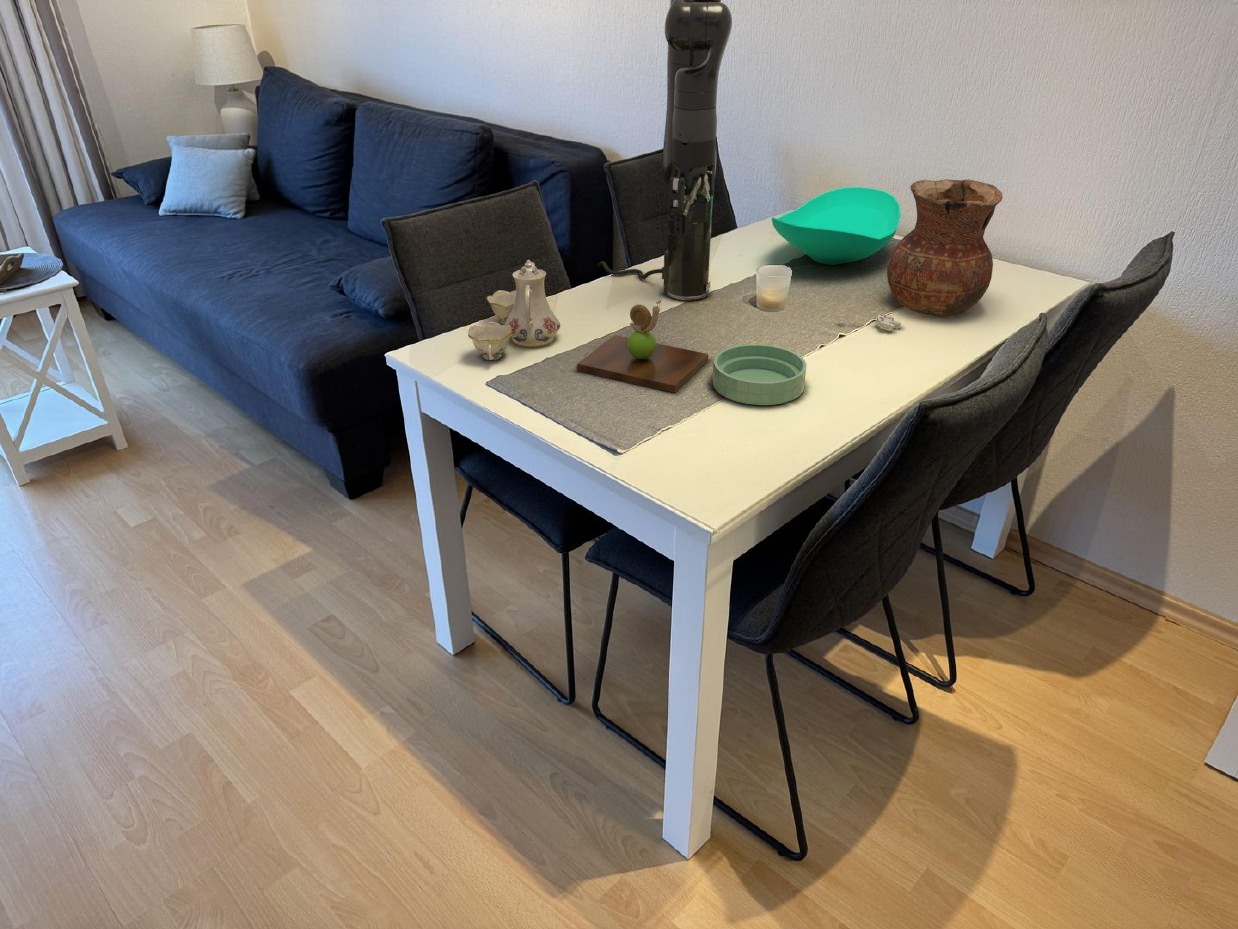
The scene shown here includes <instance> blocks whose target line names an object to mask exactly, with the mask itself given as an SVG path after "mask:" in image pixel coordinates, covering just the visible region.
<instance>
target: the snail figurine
mask: <svg viewBox="0 0 1238 929" xmlns="http://www.w3.org/2000/svg"><path fill="white" fill-rule="evenodd" d="M661 301H662V300H661V299H658V300H655V304H656V305H654V306H653V307H652V313H651V311H650V310H649V308H648V307H647V306H645V305H643V304H635V305H633V306H632V307H631V309H630V310H629V318H630V320H631V322H629V326H630V327H631V328H632V330H634V331H633V332H632V333H631V334H630V335H629V336H628V341H627V348H628V351H629V353H630V354H631V355H632V356H633V357H635V358H637V359H646V358H649V357H650V356H651V355H652V354H653V353H654V352H655V349H656V343H657V340H656V337H655V335H654V334H653V333H651V332H652V331H653V330H654V329H655V327H656V326H657V322H658V319H659V313H660V312H661V307H660V306H661V305H660V304H661Z"/></svg>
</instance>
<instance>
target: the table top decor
mask: <svg viewBox="0 0 1238 929" xmlns="http://www.w3.org/2000/svg"><path fill="white" fill-rule="evenodd" d="M901 213H902V212H901V204H900V203H899V202H898V200H897V199H896V197H895V196H894V195H892V194H891V193H889V192H887V191H885V190H883V189H882V190H881V189H877V188H872V187H863V186H850V187H849V186H848V187H847V186H846V187H839V188H836V189H833V190H829V191H825V192H823V193H821V194H819V195H817V196H814V197H813V198H811V199H809V200H808V201H806V202H805V203H804V204H802V205H801V206H800V207H798V208H796V209H794V210H792V211H789V212H787V213H785V214H783V215H781V216H780V217H774V216H772V217H771V223H772V226H773V228H774V229H775V231H776V232H777V234H778V235H779V236H780V237H782V238H783V239H784V240H786V241H787V243H789V244H790V245H791V246H793V247H795V249H797V250H798V251H801V252H802V253H803V254H805V255H807V256H808V257H810V258H811V259H812V260H813V261H814V262H816V263H819V264H823V265H830V266H833V265H842V264H848V263H854V262H857V261H860V260H861V261H862V260H864V259H866V258H868V257H871V256H873V255H874V254H876V253H877V252H878V251H880V250H881V249H882V248H884V247H885V246H886V245H887V244H888V243H889V242H890V241H891V240H892V239H893V238H894V237H895V235H896V233H897V230H898V228H899V224H900V220H901V217H902V214H901Z"/></svg>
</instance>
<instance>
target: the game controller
mask: <svg viewBox="0 0 1238 929" xmlns="http://www.w3.org/2000/svg"><path fill="white" fill-rule="evenodd" d="M861 322H863V320H862V321H860V323H861ZM846 323H849V324H850V322H848V321H847V322H846V321H845V322H843V324H846ZM870 323H872V324H873V321H870ZM875 324H876V326H877V327H878V328H879V329H881V330H884V331H888V332H893V330H894V329H895V330H897V329H898V330H900V328H901V325H902V322H901V321H898V320H896V319H895V318H894V317H893V316H892V315H890V314H884V313H879V314H878V315H877V317H876V320H875Z"/></svg>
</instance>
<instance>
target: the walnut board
mask: <svg viewBox="0 0 1238 929" xmlns="http://www.w3.org/2000/svg"><path fill="white" fill-rule="evenodd" d="M628 338H629V336H623V335H618V334H614V335H613V336H611V337H610V338H609V339H607V340H606V341H605V342H604V343H602V344H601V345H600V346H599V347H597V348H595V349H594V350H593V351H592V352H590V353H589V354H588V355H587V356H585V357H584V358H582V359H581V360H580V361H579V362H577V363H576V368H577V369H576V370H577V372H581V373H585V374H590V375H594V376H599V377H602V378H608V379H613V380H617V381H620V382H626V383H630V384H634V385H638V386H642V387H647V388H651V389H656V390H660V391H663V392H669V393H673V394H676V393H677V392H678V391H679V390H680V388H682V387H683V386H684V385H685V384H686V383H687V382H688V381H689V380H690V379H691V378H693V376H694V375H695V374H697V372H699V371H700V370H701V368H703V367H704V365H706V364H707V363H708V362H709V353H706V352H701V351H696V350H691V349H687V348H682V347H677V346H671V345H666V344H662V343H657V342H656V349H655V352H654V353H653V354H652V355H651V356H650V357H649V358H646V359H637V358H635V357H633V356H632V355H631V354H630V353H629V351H628V348H627V341H628Z"/></svg>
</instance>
